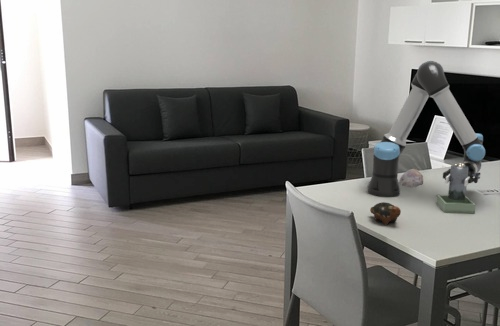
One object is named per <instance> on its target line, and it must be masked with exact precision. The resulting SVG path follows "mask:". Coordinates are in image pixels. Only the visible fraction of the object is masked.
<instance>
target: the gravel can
mask: <svg viewBox="0 0 500 326" xmlns="http://www.w3.org/2000/svg"><path fill="white" fill-rule="evenodd" d="M450 169H451V171H450V181H449V182H448V184H449V185H448V194H447V195H448V198H450V199H453V200H465V197H466V196H467V186H468V185H467V186H464V183H465V179H466V178H467V177H468V166H465V164H462V162H459V163H454V164H452V165H450Z"/></svg>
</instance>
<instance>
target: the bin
mask: <svg viewBox="0 0 500 326" xmlns="http://www.w3.org/2000/svg"><path fill="white" fill-rule="evenodd" d="M435 204H436V206H437V207H439V209H441V211H442V212H443V213H445V214H446V213H447V214H448V213H450V214H473V215H474V214H475V213H476V212H475V211H476V203H475V202H474V201H473V200H472V199H470V198H469V197H468V196H467V195H466V197H465V200H453V199H450V198H448V194H437V195H436V202H435Z"/></svg>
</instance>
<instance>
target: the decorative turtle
mask: <svg viewBox="0 0 500 326" xmlns="http://www.w3.org/2000/svg"><path fill="white" fill-rule="evenodd" d="M369 209H370V213H371V214H373V216H374V219H375V221H376V222H381V223H382V224H383V225H385V226H387V225H388V224H389V222H391V223H393V224H394V223H396V221H397V219H398V218H399V217H400V215H401V211H402V210H401V209H400V207H399V206H395V205H394V204H392V203H389V202H385V201H383V202H382V201H381V202H378V203H376V204H375V205H373V206H372V207H370V208H369Z"/></svg>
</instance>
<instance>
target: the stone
mask: <svg viewBox="0 0 500 326" xmlns="http://www.w3.org/2000/svg"><path fill="white" fill-rule="evenodd" d="M423 177H424V175H423V174H422V173H421V172H420V171H419V170H418V169H416V168H411V169H408V170H407V171H405V172H404V173H403V174H402V175H401V177H400V179H399V180H398V183H399V185H401V186H402V187H403V186H404V187H407V188H416V187H418V186H422V185H423V184H424V178H423Z"/></svg>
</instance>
